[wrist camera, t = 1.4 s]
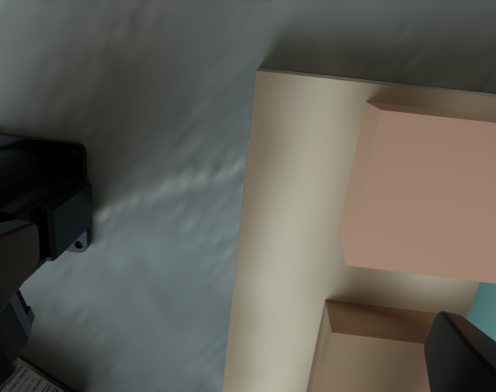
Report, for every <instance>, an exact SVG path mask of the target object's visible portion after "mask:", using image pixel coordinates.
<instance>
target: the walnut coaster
mask: <svg viewBox="0 0 496 392" xmlns="http://www.w3.org/2000/svg"><path fill="white" fill-rule="evenodd" d="M436 314H437V313H430V312H422V311H414V310H406V309H398V308H390V307H382V306H374V305H365V304H357V303H349V302H341V301H333V300H325V302H324V307H323V312H322V317H321V322H320V327H319V332H318V337H317V341H316V346H315V351H314V356H313V361H312V366H311V371H310V376H309V380H308V385H307V390H306V392H430V387H429V381H428V374H427V368H426V362H425V355H424V343H425V339H426V337H427V334H428V332H429V330H430V327H431V325H432V323H433V320H434V318H435V316H436Z"/></svg>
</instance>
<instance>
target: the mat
mask: <svg viewBox="0 0 496 392" xmlns="http://www.w3.org/2000/svg"><path fill="white" fill-rule="evenodd" d="M467 320H468V321H470V322H471V323H472V324H473V325H475V326H476V327H477V328H479V329H480V330H481V331H483V332H484V333H485V334H487V335H488V336H489V337H491V338H492V339H493V340H494V341H496V284H495V283H487V282H480V283H479V286H478V289H477V292H476V294H475V297H474V300H473V303H472V305H471V308H470V311H469V313H468V316H467Z"/></svg>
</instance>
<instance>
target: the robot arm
mask: <svg viewBox="0 0 496 392" xmlns="http://www.w3.org/2000/svg"><path fill="white" fill-rule="evenodd" d="M73 148H74V149H76V150H77V152H78V156H76V155H74V154H73V152H72V149H73ZM92 223H93V222H92V198H91V184H90V183H89V182H88V180H87V164H86V150H85V148H84V146H83V145H82V144H80V143H78V142H72V141H64V140H55V139H46V138H38V137H29V136H21V135H12V134H3V133H0V391H1V390H2V389H3V388H4V386H5V385H6V384H7V382H8V380H9V379H10V378H11V377H12V376H13V375H14V373H15V371H16V369H17V364H16V362H17V359H18V357H19V354H20V352H21V351H22V349H23V348H24V346H25V345H26V343H27V342H28V340H29V337H30V332H31V328H32V322H33V320H34V317H35V316H34V313H33V311H32V309H31V307H30V306H27V305H26V303H25V301H24V299H23V296H22V294H21V292H20V290H19V288H20V286H21V285H22V284H23V282H24V281H26V280H27V279H28V278H29V277H30V276H31V275H32V274H33V273H34V272H35V271H36V270H37V269H38V268H40V267H41V266H42V265H43V264H44V263H45V262H46V261H47V260H48V261H54V260H55V259H57V258H58V257H59V256H60V255H61V254H62V253H63V252H64V251H70V252H78V253H81V252H84V251H86V249H87V248H88V247H89V246H90V228H89V227H90V226H91V225H92ZM78 241H80V242H81V243H82V244H83V246H81V245H79V244H78ZM424 355H425V362H426V368H427V374H428V381H429V387H430V392H496V341H494V340H493V339H492V338H491V337H489V336H488V335H487V334H485V333H484V332H483V331H481V330H480V329H479V328H477V327H476V326H475V325H473V324H472V323H471V322H470V321H468V320H467V319H466V318H464V317H463V316H462V315H459V314H456V313H451V312H447V311H440V312H438V313H437V314H436V316H435V318H434V320H433V323H432V325H431V327H430V330H429V332H428V334H427V337H426V339H425V343H424Z"/></svg>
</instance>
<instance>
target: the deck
mask: <svg viewBox="0 0 496 392" xmlns="http://www.w3.org/2000/svg"><path fill="white" fill-rule="evenodd" d="M365 102H374V103H383V104H392V105H401V106H410V107H419V108H428V109H436V110H445V111H454V112H463V113H472V114H481V115H490V116H496V94H492V93H483V92H474V91H465V90H456V89H447V88H438V87H429V86H419V85H410V84H401V83H392V82H383V81H374V80H365V79H356V78H347V77H338V76H329V75H320V74H311V73H302V72H293V71H284V70H275V69H266V68H258V69H257V70H256V75H255V84H254V94H253V103H252V113H251V123H250V132H249V142H248V151H247V161H246V170H245V180H244V190H243V199H242V209H241V218H240V228H239V238H238V247H237V257H236V266H235V276H234V286H233V295H232V305H231V314H230V324H229V333H228V343H227V353H226V362H225V372H224V381H223V391H222V392H306V390H307V385H308V380H309V376H310V371H311V366H312V361H313V356H314V351H315V346H316V341H317V337H318V332H319V327H320V322H321V317H322V312H323V307H324V302H325V300H333V301H341V302H349V303H357V304H365V305H374V306H382V307H390V308H398V309H406V310H414V311H422V312H430V313H438V312H440V311H447V312H451V313H456V314H459V315H462V316H463V317H464V318H466V319H467V316H468V313H469V311H470V308H471V305H472V303H473V300H474V297H475V294H476V292H477V289H478V286H479V283H480V282H479V281H471V280H462V279H454V278H446V277H438V276H429V275H421V274H413V273H405V272H396V271H388V270H380V269H372V268H363V267H355V266H347V265H346V262H345V259H344V256H343V253H342V250H341V247H340V244H339V242H338V234H339V229H340V224H341V219H342V215H343V210H344V205H345V200H346V195H347V190H348V185H349V180H350V176H351V171H352V166H353V161H354V156H355V151H356V146H357V141H358V137H359V132H360V127H361V122H362V117H363V112H364V107H365Z"/></svg>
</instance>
